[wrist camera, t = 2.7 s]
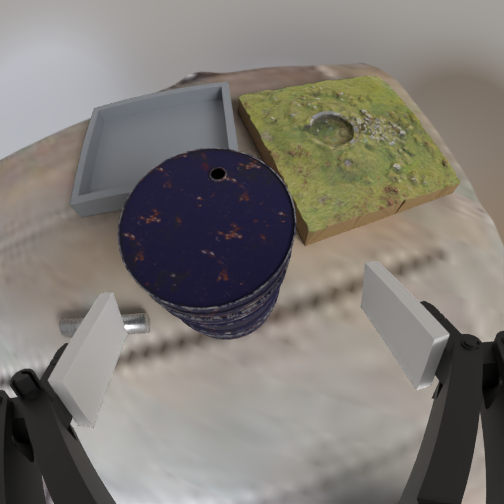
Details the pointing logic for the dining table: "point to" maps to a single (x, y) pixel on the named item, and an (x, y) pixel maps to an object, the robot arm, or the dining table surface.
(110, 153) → the tray
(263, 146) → the miniature landscape model
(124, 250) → the storage jar
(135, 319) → the rod
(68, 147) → the dining table surface
